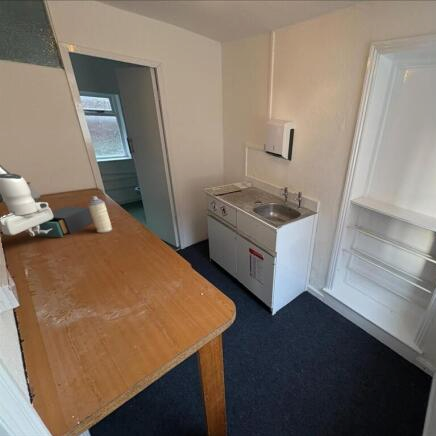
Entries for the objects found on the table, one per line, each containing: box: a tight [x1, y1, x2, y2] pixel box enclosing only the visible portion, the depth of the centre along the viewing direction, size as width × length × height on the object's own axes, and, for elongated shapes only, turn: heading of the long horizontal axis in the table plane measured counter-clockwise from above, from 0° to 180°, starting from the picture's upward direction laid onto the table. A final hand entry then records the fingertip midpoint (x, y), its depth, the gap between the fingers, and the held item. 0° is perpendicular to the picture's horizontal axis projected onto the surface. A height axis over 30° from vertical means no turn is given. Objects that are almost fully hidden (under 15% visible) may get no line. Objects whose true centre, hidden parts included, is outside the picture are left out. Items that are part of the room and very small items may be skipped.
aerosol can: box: [88, 195, 113, 234], centre depth 127 cm, size 7×7×20 cm
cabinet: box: [52, 206, 94, 235], centre depth 130 cm, size 16×14×10 cm
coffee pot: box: [26, 181, 42, 202], centre depth 162 cm, size 21×12×15 cm, turn 48°
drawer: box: [31, 219, 68, 237], centre depth 124 cm, size 19×12×8 cm, turn 0°
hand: (35, 234), depth 114 cm, fingers closed
